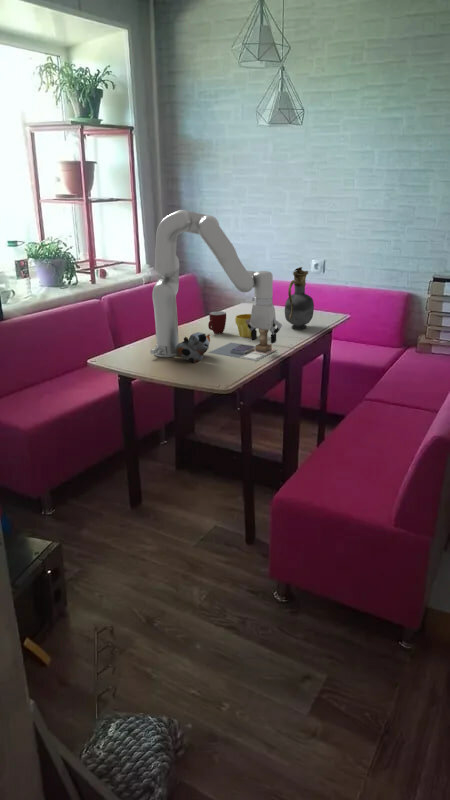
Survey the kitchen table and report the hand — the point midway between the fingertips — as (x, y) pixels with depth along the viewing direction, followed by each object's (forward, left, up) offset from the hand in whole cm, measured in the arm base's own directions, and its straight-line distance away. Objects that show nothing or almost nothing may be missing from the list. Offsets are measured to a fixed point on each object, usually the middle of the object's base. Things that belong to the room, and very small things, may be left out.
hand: (263, 341), depth 254 cm
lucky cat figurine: (-22, +22, -5) cm, 31 cm away
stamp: (0, 0, -4) cm, 4 cm away
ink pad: (-5, +8, -5) cm, 10 cm away
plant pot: (+18, +20, -5) cm, 28 cm away
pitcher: (+43, +6, -5) cm, 44 cm away
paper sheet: (-5, 0, -5) cm, 7 cm away
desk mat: (-5, +8, -5) cm, 10 cm away
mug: (+15, +35, -5) cm, 39 cm away
